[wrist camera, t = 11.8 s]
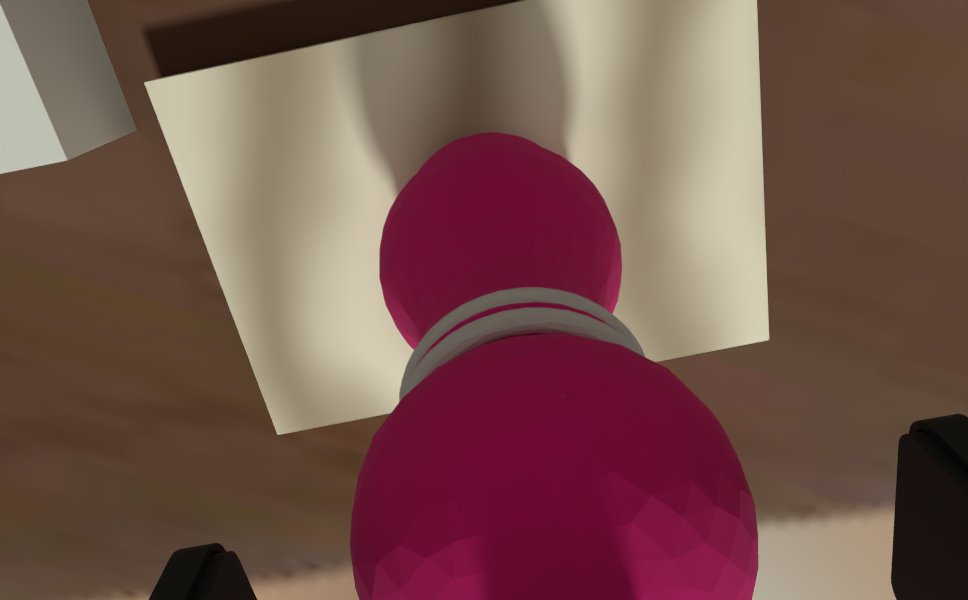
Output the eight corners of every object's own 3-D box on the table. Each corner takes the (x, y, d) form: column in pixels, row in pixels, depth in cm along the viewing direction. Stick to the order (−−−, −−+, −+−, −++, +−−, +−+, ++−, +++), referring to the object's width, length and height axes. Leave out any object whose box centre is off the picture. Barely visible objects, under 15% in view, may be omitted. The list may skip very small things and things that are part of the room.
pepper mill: (349, 236, 25) (92, 882, 7) (474, 71, 23) (571, 373, 5) (505, 344, 27) (621, 1062, 9) (632, 201, 25) (1118, 757, 7)
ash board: (737, -46, 24) (755, -49, 22) (754, 323, 29) (769, 339, 28) (161, 77, 24) (144, 82, 23) (285, 414, 30) (277, 434, 28)
